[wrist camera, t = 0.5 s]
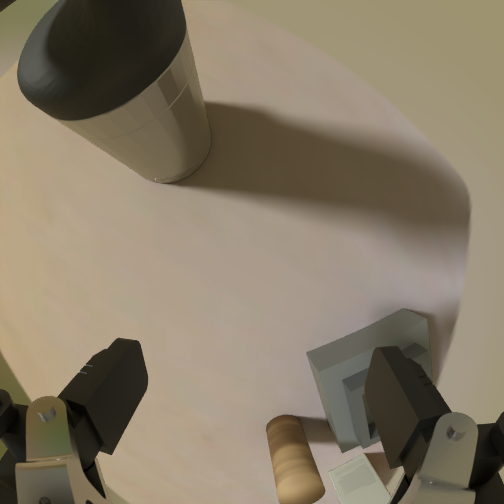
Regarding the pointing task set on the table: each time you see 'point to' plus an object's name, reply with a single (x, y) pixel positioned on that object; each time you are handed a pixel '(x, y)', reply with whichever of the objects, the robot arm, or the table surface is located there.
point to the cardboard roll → (293, 462)
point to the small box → (359, 483)
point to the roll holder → (363, 373)
